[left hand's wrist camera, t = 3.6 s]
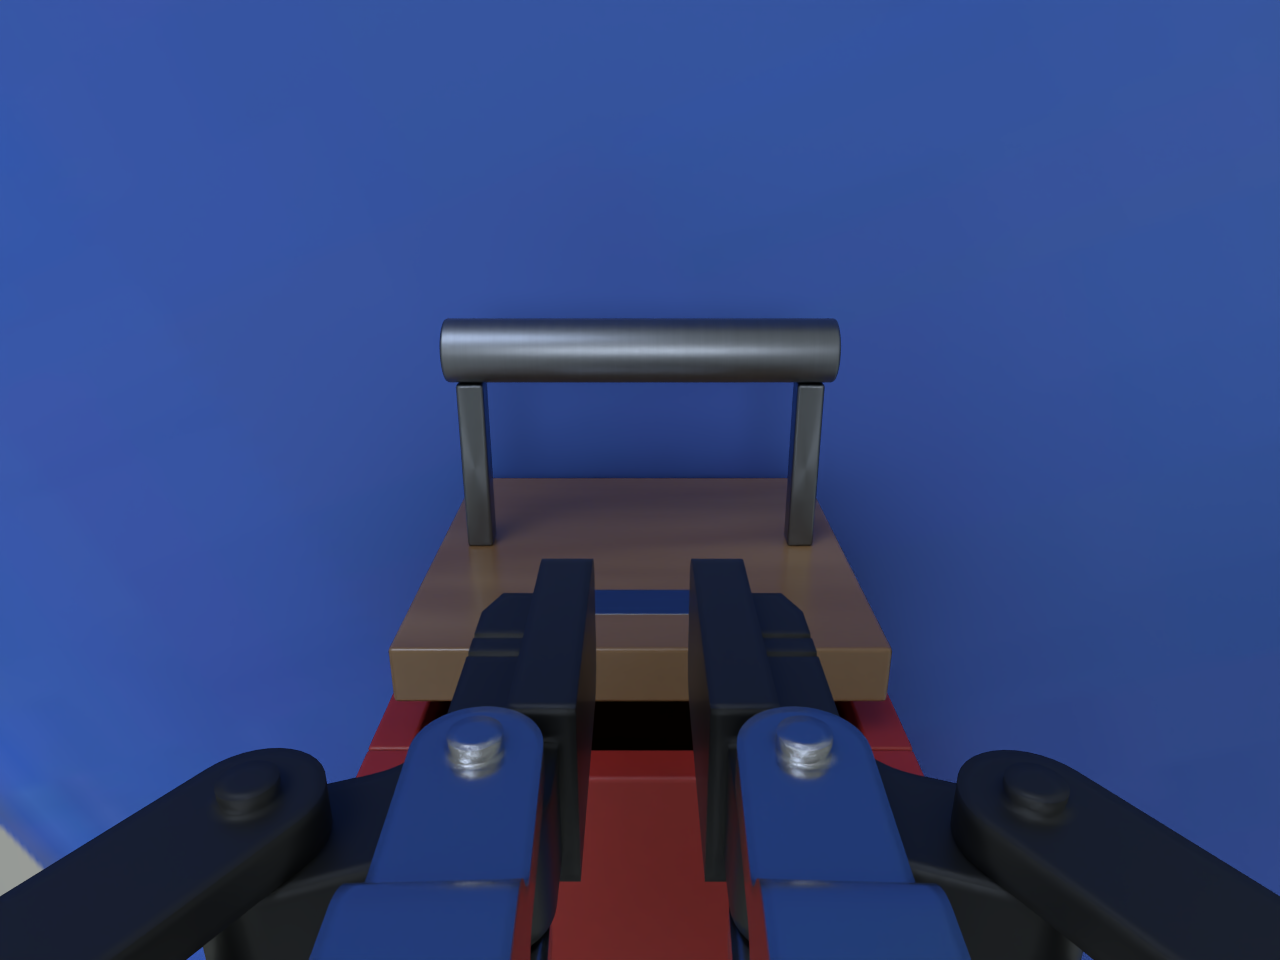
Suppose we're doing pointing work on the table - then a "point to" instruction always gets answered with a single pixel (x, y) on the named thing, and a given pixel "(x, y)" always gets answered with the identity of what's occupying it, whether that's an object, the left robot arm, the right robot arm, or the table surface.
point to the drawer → (639, 519)
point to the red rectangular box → (640, 841)
